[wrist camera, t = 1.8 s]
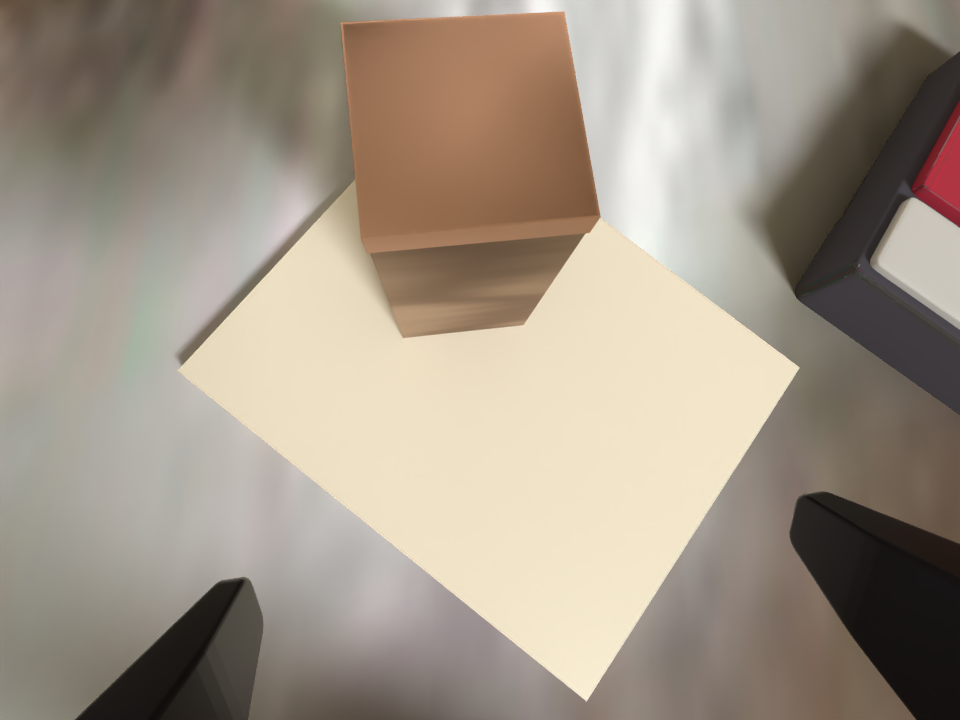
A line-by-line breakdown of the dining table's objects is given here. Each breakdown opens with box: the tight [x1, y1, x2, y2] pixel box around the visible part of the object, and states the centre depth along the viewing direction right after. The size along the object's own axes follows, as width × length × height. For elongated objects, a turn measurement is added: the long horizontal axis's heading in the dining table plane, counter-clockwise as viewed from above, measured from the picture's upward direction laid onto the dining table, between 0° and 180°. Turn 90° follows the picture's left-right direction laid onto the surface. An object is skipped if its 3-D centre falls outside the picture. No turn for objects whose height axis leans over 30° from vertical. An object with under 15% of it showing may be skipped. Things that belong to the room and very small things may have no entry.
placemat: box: [178, 180, 800, 701], centre depth 20 cm, size 20×16×1 cm
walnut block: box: [341, 12, 600, 338], centre depth 16 cm, size 5×5×10 cm
